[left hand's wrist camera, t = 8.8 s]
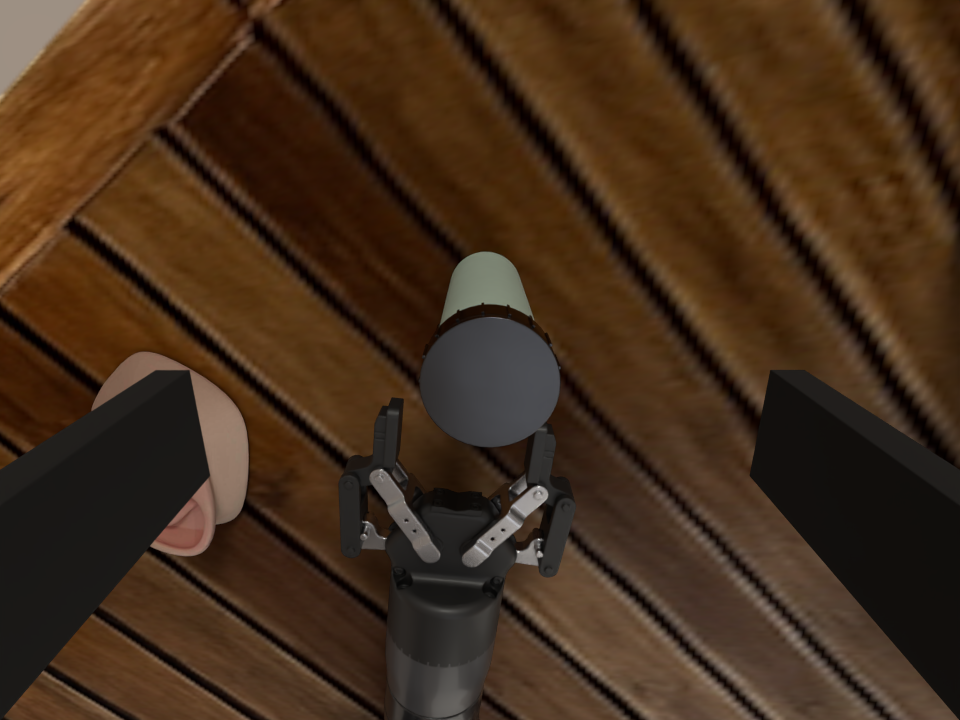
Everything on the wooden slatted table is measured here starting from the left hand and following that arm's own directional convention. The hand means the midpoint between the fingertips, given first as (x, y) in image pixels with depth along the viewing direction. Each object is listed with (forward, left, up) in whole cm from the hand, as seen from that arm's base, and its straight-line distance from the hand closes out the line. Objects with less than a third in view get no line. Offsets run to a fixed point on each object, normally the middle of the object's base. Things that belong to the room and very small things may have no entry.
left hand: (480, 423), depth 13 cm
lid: (-2, +1, -8) cm, 8 cm away
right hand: (-5, +6, -18) cm, 19 cm away
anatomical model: (+6, +25, -24) cm, 35 cm away
